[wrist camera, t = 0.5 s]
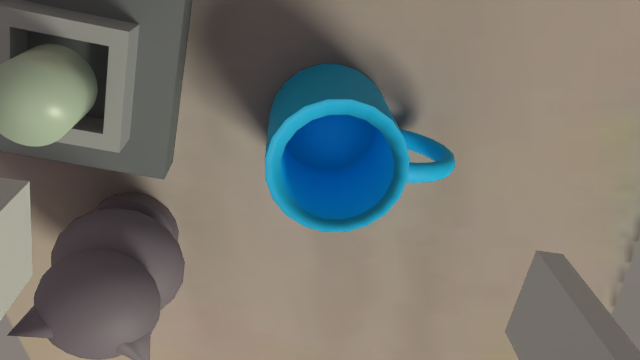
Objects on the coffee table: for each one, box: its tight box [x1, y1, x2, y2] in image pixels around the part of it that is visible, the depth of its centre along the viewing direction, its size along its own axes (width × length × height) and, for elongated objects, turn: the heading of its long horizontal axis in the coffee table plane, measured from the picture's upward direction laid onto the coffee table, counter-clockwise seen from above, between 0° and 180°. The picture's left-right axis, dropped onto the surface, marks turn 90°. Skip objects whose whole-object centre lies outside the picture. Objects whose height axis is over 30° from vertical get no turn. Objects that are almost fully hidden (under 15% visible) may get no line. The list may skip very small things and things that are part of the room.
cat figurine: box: [8, 192, 185, 360], centre depth 37 cm, size 8×8×12 cm
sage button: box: [0, 44, 98, 146], centre depth 30 cm, size 4×4×4 cm
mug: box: [265, 64, 455, 232], centre depth 36 cm, size 12×8×8 cm
